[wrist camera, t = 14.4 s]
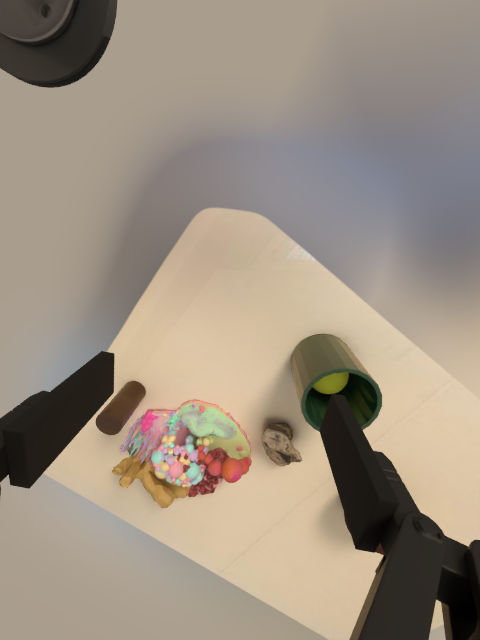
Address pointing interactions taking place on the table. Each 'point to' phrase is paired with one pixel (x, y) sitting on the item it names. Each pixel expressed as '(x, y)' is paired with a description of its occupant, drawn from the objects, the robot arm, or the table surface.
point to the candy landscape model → (184, 452)
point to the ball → (332, 383)
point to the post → (120, 408)
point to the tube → (325, 359)
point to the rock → (280, 444)
